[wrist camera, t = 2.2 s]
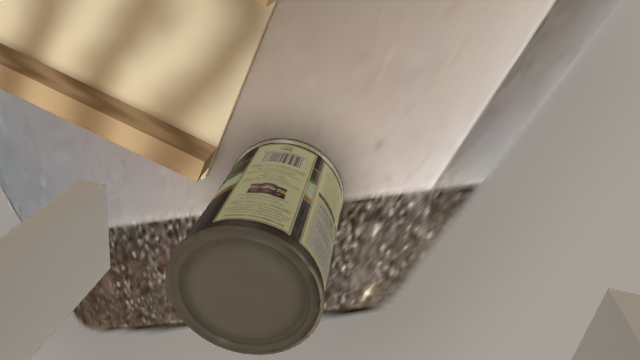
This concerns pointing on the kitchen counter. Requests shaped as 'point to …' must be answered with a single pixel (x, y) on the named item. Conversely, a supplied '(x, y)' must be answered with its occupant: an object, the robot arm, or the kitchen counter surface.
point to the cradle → (136, 69)
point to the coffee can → (261, 251)
